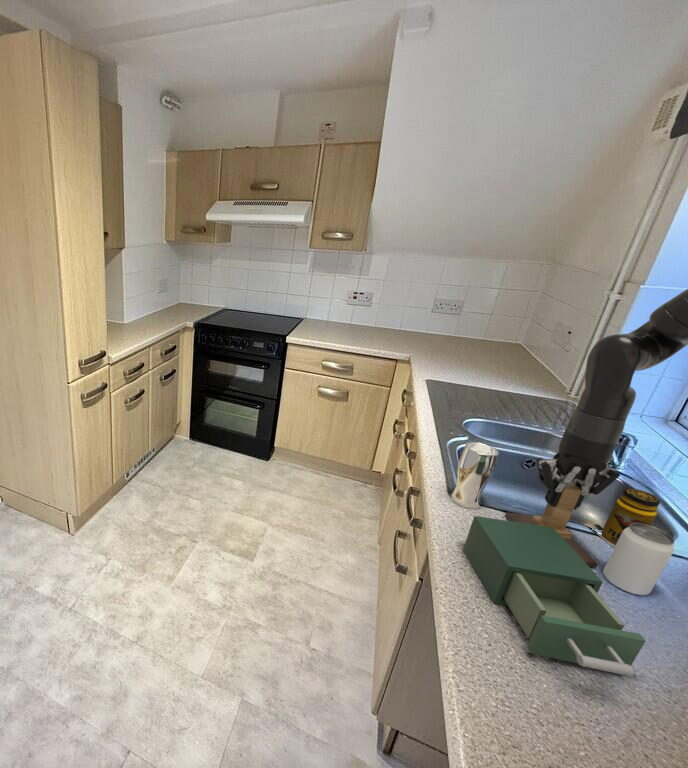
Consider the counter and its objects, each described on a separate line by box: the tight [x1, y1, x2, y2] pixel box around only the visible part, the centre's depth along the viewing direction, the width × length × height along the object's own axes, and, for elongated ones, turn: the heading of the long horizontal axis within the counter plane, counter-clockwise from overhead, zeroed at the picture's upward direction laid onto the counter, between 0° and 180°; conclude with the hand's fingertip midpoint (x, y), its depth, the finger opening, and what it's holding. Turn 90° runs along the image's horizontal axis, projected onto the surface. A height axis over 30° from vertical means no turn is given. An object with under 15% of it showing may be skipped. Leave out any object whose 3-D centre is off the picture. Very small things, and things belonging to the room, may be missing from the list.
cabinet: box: [462, 515, 604, 607], centre depth 78 cm, size 14×14×9 cm
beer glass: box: [450, 441, 500, 510], centre depth 100 cm, size 7×7×15 cm
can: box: [602, 523, 675, 596], centre depth 77 cm, size 6×6×12 cm
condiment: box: [583, 488, 661, 549], centre depth 89 cm, size 7×8×12 cm
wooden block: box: [532, 482, 582, 539], centre depth 87 cm, size 5×5×11 cm
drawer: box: [503, 571, 646, 677], centre depth 66 cm, size 17×13×7 cm
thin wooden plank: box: [504, 511, 599, 569], centre depth 90 cm, size 10×14×1 cm
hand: (560, 505), depth 87 cm, fingers closed on wooden block, 3 cm apart
